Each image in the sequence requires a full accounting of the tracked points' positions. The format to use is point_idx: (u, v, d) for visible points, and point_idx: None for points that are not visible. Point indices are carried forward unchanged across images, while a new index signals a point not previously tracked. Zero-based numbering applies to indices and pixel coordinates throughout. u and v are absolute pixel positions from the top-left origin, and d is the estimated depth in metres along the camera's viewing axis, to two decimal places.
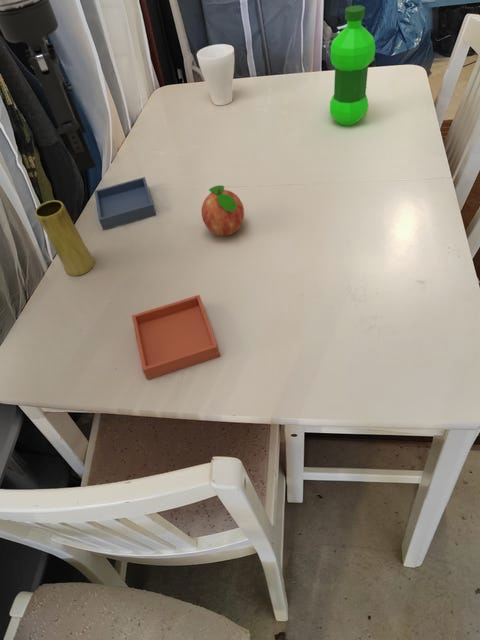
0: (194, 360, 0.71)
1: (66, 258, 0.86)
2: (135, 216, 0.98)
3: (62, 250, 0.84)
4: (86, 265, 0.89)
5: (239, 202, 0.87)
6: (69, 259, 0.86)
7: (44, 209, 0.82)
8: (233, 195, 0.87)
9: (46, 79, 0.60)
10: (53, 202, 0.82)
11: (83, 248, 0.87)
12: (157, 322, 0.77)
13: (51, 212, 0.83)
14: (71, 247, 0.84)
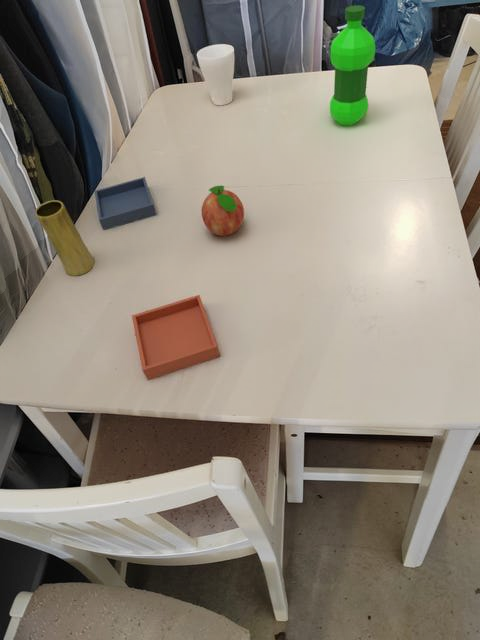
0: (194, 360, 0.71)
1: (66, 258, 0.86)
2: (135, 216, 0.98)
3: (62, 250, 0.84)
4: (86, 265, 0.89)
5: (239, 202, 0.87)
6: (69, 259, 0.86)
7: (44, 209, 0.82)
8: (233, 195, 0.87)
9: None
10: (53, 202, 0.82)
11: (83, 248, 0.87)
12: (157, 322, 0.77)
13: (51, 212, 0.83)
14: (71, 247, 0.84)
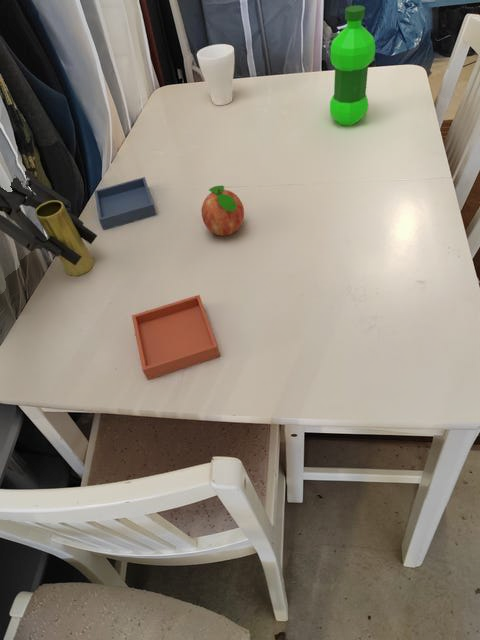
0: (194, 360, 0.71)
1: None
2: (135, 216, 0.98)
3: None
4: (86, 265, 0.89)
5: (239, 202, 0.87)
6: None
7: (44, 209, 0.82)
8: (233, 195, 0.87)
9: None
10: (53, 202, 0.82)
11: (83, 248, 0.87)
12: (157, 322, 0.77)
13: (51, 212, 0.83)
14: (71, 247, 0.84)
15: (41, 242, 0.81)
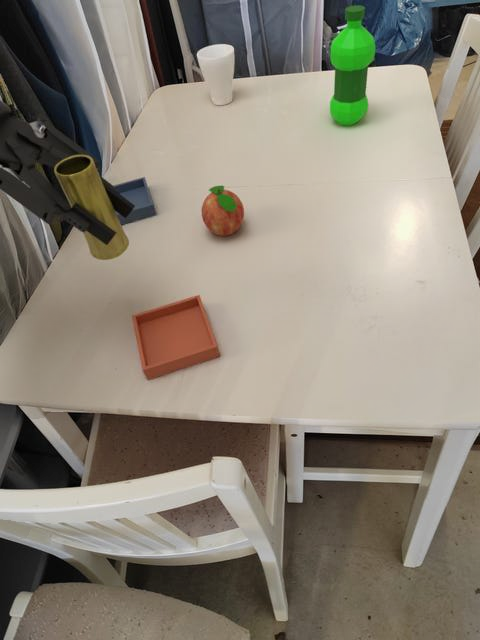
0: (194, 360, 0.71)
1: (94, 236, 0.64)
2: (135, 216, 0.98)
3: None
4: (119, 246, 0.67)
5: (239, 202, 0.87)
6: None
7: (65, 167, 0.60)
8: (233, 195, 0.87)
9: None
10: (78, 157, 0.60)
11: (116, 223, 0.65)
12: (157, 322, 0.77)
13: (75, 172, 0.61)
14: (102, 220, 0.62)
15: (63, 211, 0.59)
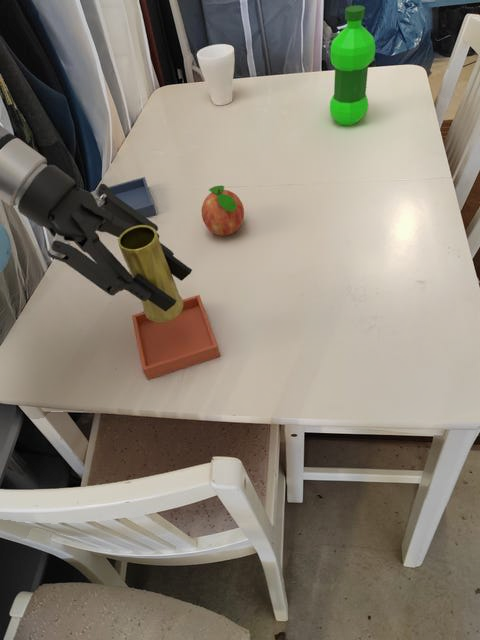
0: (194, 360, 0.71)
1: None
2: None
3: None
4: (175, 309, 0.67)
5: (239, 202, 0.87)
6: None
7: (127, 237, 0.60)
8: (233, 195, 0.87)
9: None
10: (140, 228, 0.60)
11: (174, 287, 0.65)
12: (157, 322, 0.77)
13: (136, 241, 0.61)
14: (161, 287, 0.62)
15: (126, 283, 0.59)
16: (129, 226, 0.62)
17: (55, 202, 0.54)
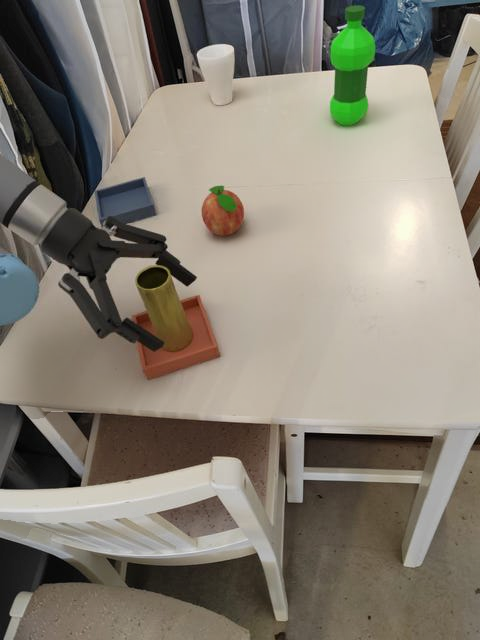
0: (194, 360, 0.71)
1: (165, 333, 0.70)
2: (135, 216, 0.98)
3: (162, 325, 0.68)
4: (186, 339, 0.72)
5: (239, 202, 0.87)
6: (169, 334, 0.70)
7: (143, 276, 0.66)
8: (233, 195, 0.87)
9: None
10: (155, 267, 0.66)
11: (184, 319, 0.71)
12: None
13: (151, 279, 0.67)
14: (174, 321, 0.68)
15: (113, 326, 0.61)
16: (140, 246, 0.68)
17: (75, 243, 0.59)
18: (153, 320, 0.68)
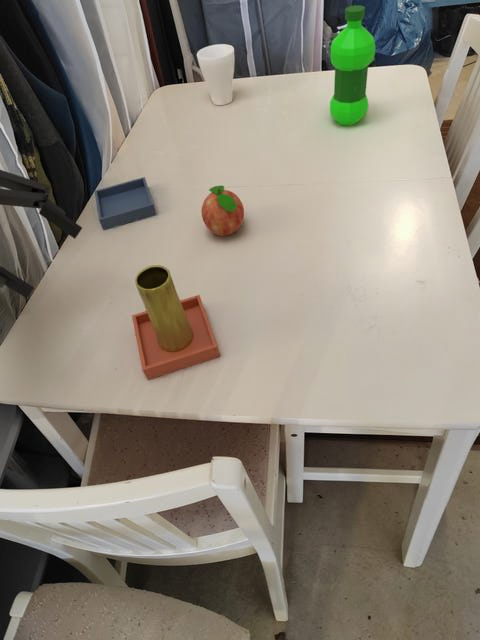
0: (194, 360, 0.71)
1: (165, 333, 0.70)
2: (135, 216, 0.98)
3: (162, 325, 0.68)
4: (186, 339, 0.72)
5: (239, 202, 0.87)
6: (169, 334, 0.70)
7: (143, 276, 0.66)
8: (233, 195, 0.87)
9: None
10: (155, 267, 0.66)
11: (184, 319, 0.71)
12: None
13: (151, 279, 0.67)
14: (173, 321, 0.68)
15: None
16: (17, 193, 0.67)
17: None
18: (153, 320, 0.68)
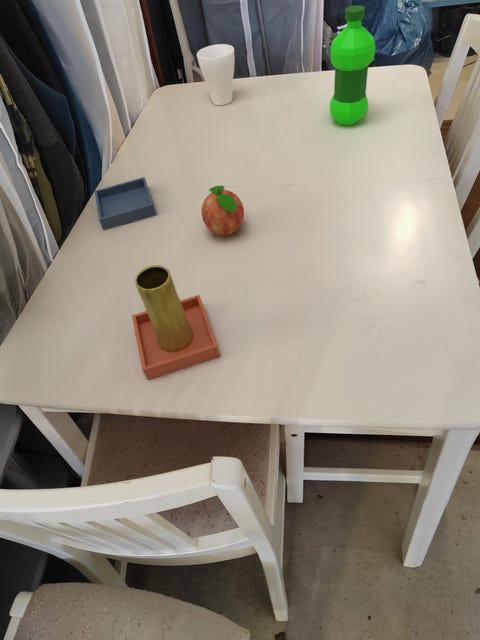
0: (194, 360, 0.71)
1: (165, 333, 0.70)
2: (135, 216, 0.98)
3: (162, 325, 0.68)
4: (186, 339, 0.72)
5: (239, 202, 0.87)
6: (169, 334, 0.70)
7: (143, 276, 0.66)
8: (233, 195, 0.87)
9: None
10: (155, 267, 0.66)
11: (184, 319, 0.71)
12: None
13: (150, 279, 0.67)
14: (173, 321, 0.68)
15: None
16: None
17: None
18: (153, 320, 0.68)
